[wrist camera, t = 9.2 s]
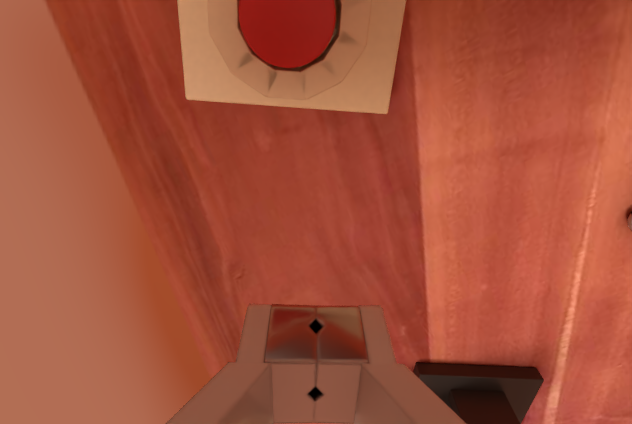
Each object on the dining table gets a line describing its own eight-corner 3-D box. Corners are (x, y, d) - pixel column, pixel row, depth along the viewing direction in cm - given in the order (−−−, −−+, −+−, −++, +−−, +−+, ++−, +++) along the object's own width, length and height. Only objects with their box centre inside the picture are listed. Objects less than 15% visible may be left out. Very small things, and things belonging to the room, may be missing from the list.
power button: (246, 60, 16) (239, 64, 15) (244, -41, 14) (236, -47, 13) (329, 66, 16) (331, 72, 15) (337, -32, 15) (340, -38, 13)
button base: (197, 91, 20) (173, 108, 17) (183, -96, 16) (148, -127, 13) (380, 105, 21) (395, 124, 17) (408, -75, 17) (433, -98, 13)
